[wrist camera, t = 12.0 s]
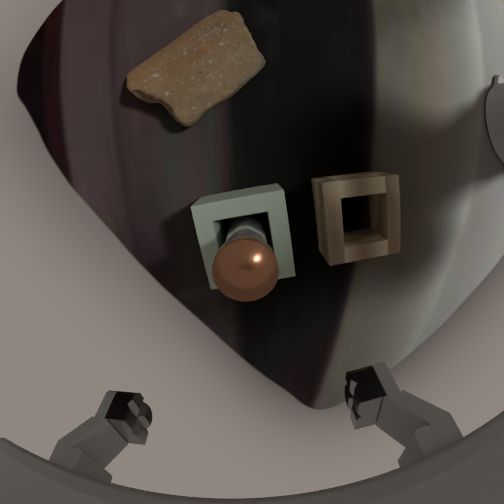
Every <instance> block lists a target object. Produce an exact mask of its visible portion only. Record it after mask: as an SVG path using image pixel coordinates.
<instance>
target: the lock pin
mask: <svg viewBox="0 0 504 504" xmlns="http://www.w3.org/2000/svg"><path fill="white" fill-rule="evenodd" d="M212 276H213V280H214V283H215V285H216V286H217V288H218V289H219V290H220V291H221V292H222V293H223V294H224V295H226V296H227V297H229V298H231V299H234V300H237V301H254V300H257V299H260V298H262V297H264V296H265V295H267V294H268V293H269V292H270V291H271V290H272V289H273V288H274V286H275V284H276V282H277V280H278V276H279V267H278V262H277V258H276V256H275V254H274V252H273V250H272V249H271V248H270V247H269V245H267V240H266V235H265V230H264V225H263V221H262V219H261V217H260V216H259V215H258V214H256V213H255V214H249V215H244V216H238V217H233V218H232V220H231V223H230V226H229V230H228V234H227V238H226V242H225V244H223V245H222V246H221V247H220V249H219V250H218V252H217V253H216V256H215V258H214V261H213V265H212Z"/></svg>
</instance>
